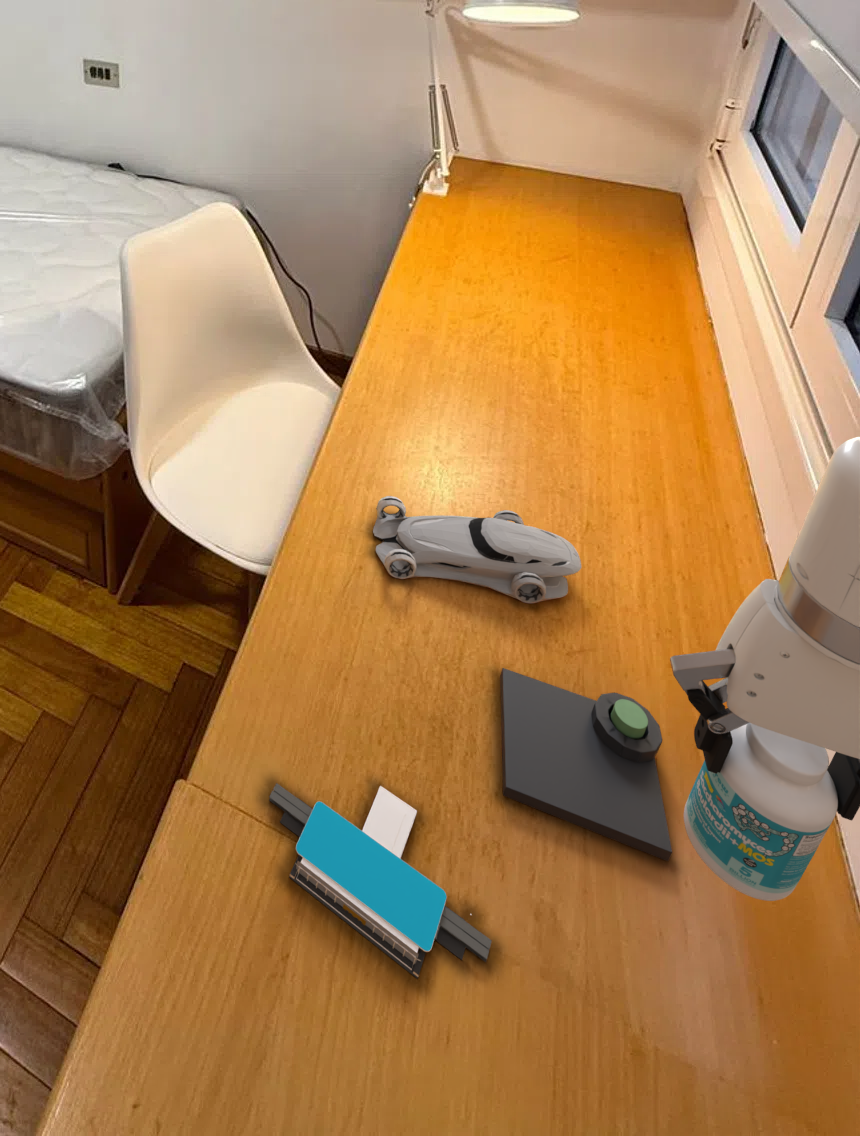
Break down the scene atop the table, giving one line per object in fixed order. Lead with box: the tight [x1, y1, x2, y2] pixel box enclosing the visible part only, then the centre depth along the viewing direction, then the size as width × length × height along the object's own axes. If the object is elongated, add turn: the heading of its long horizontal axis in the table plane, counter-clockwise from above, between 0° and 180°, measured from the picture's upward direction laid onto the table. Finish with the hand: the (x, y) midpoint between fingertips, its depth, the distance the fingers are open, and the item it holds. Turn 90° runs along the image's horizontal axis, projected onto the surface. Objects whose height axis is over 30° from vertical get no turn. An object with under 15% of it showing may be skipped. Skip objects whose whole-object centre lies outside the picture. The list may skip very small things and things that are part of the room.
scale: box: [499, 667, 673, 862], centre depth 84 cm, size 14×13×3 cm
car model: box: [372, 495, 582, 604], centre depth 106 cm, size 11×24×5 cm, turn 80°
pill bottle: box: [683, 723, 838, 902], centre depth 64 cm, size 8×7×14 cm
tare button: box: [611, 699, 648, 739], centre depth 85 cm, size 3×3×2 cm
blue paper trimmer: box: [268, 782, 493, 980], centre depth 76 cm, size 20×12×2 cm, turn 53°
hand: (771, 774), depth 63 cm, fingers closed on pill bottle, 7 cm apart
